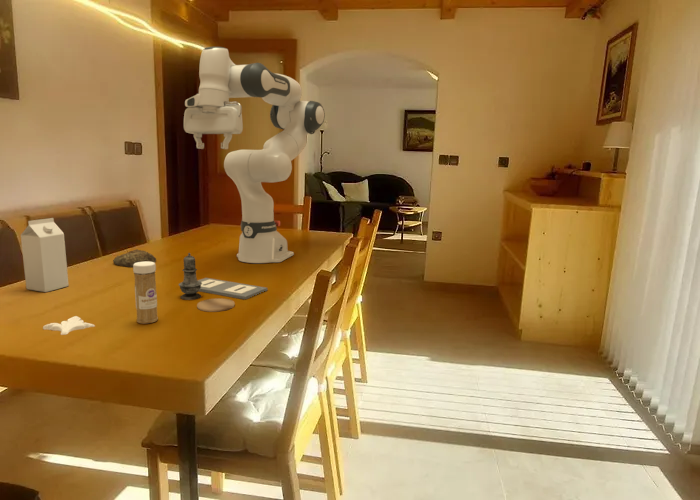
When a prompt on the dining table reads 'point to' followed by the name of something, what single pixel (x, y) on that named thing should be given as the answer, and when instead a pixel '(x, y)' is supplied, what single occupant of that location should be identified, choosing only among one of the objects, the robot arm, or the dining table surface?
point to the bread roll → (133, 258)
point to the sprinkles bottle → (145, 292)
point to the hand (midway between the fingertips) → (212, 148)
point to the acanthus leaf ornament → (68, 325)
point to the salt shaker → (190, 280)
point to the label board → (230, 288)
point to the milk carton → (44, 256)
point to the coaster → (215, 305)
